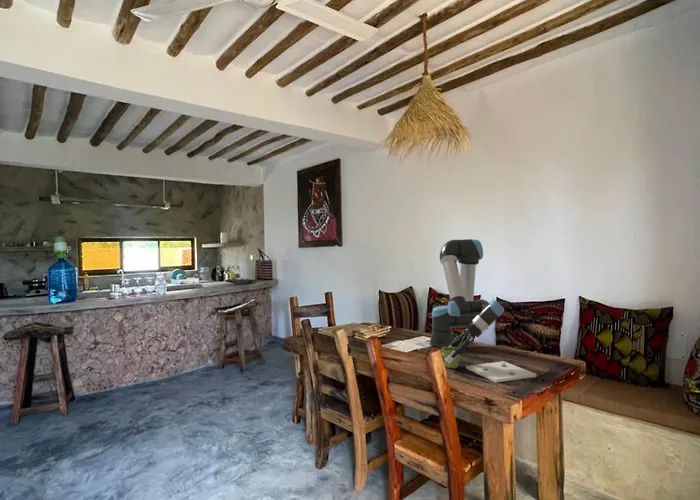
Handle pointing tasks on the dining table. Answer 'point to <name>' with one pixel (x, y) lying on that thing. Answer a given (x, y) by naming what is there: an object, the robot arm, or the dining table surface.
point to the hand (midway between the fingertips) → (445, 358)
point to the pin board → (501, 371)
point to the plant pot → (447, 352)
